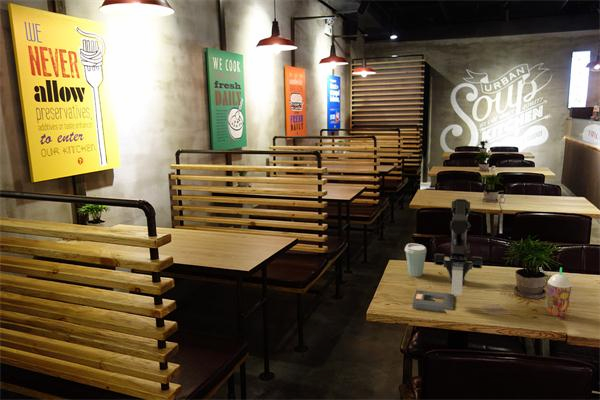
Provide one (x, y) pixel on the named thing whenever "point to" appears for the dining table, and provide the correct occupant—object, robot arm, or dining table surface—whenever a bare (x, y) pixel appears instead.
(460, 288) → the grey square peg
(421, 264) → the disposable coffee cup
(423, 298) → the flange plate
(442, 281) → the dining table surface
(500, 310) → the pad
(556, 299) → the smoothie
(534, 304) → the dining table surface
